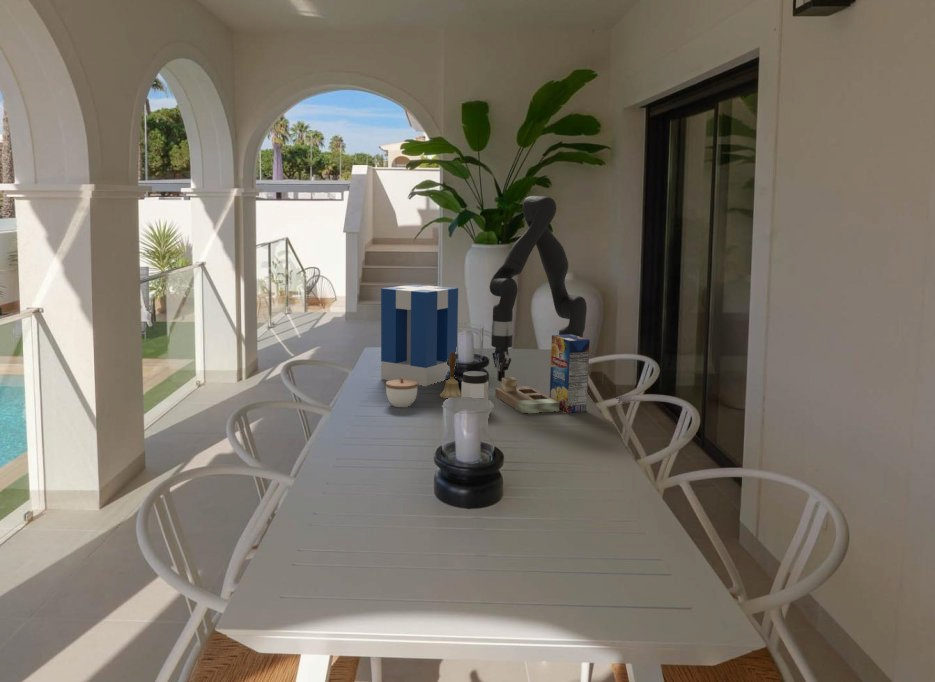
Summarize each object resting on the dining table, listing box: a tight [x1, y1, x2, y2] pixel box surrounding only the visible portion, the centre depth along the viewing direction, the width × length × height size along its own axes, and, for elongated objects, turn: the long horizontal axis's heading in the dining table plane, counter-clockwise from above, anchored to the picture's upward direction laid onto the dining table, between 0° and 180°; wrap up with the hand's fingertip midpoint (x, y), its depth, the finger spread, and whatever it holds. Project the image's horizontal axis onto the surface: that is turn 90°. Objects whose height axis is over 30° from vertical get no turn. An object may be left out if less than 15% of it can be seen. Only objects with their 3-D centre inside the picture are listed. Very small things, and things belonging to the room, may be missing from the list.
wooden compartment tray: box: [494, 385, 560, 414], centre depth 271 cm, size 13×25×3 cm, turn 19°
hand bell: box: [439, 352, 461, 399], centre depth 278 cm, size 8×8×16 cm
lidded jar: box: [385, 378, 419, 408], centre depth 265 cm, size 11×11×9 cm
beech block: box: [501, 376, 518, 391], centre depth 277 cm, size 4×4×4 cm
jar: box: [460, 370, 489, 400], centre depth 261 cm, size 9×8×12 cm
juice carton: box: [549, 334, 591, 414], centre depth 264 cm, size 12×8×24 cm, turn 23°
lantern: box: [380, 284, 459, 387], centre depth 305 cm, size 21×21×35 cm
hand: (500, 380), depth 284 cm, fingers closed
